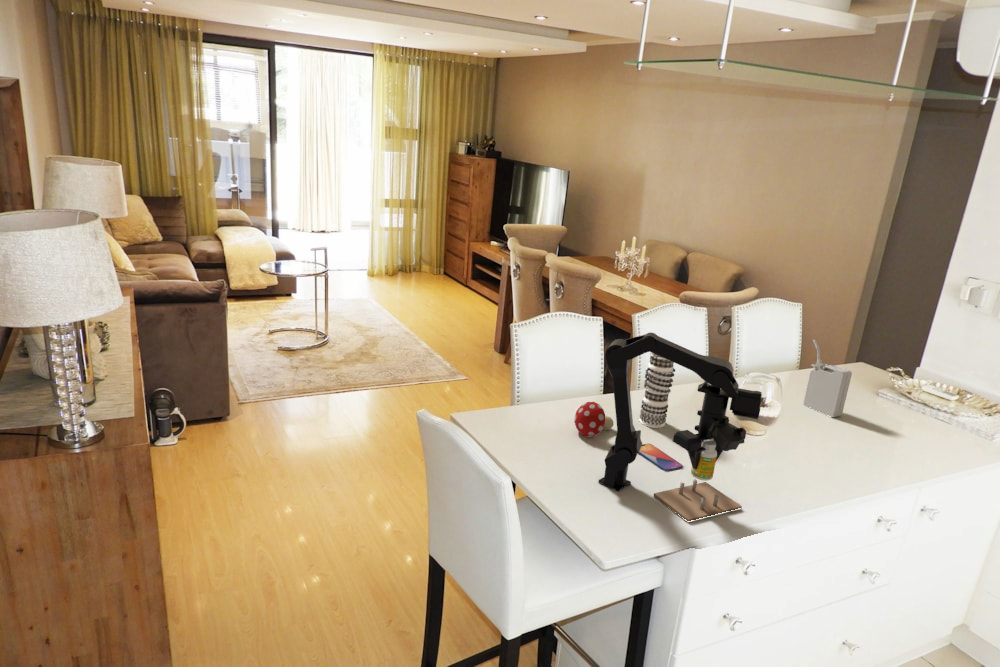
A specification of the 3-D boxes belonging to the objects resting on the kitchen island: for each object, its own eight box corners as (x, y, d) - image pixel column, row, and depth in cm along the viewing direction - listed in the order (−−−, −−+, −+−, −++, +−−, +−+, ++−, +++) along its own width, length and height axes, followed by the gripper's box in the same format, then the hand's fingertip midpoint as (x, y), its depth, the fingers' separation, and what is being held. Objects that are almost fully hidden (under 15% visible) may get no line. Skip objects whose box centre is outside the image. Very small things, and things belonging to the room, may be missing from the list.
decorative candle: (669, 429, 215) (681, 356, 208) (640, 427, 215) (651, 354, 208) (663, 418, 224) (674, 347, 217) (635, 415, 224) (646, 345, 217)
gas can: (796, 402, 249) (810, 338, 242) (805, 400, 251) (820, 337, 244) (832, 418, 236) (848, 351, 229) (841, 416, 238) (857, 350, 231)
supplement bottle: (697, 481, 166) (704, 446, 163) (686, 471, 171) (692, 436, 168) (716, 480, 167) (723, 445, 165) (705, 470, 172) (711, 436, 170)
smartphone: (664, 473, 187) (665, 470, 187) (630, 449, 199) (631, 446, 199) (684, 469, 190) (684, 466, 190) (649, 446, 203) (650, 443, 202)
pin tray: (687, 523, 162) (690, 508, 161) (653, 496, 173) (655, 483, 172) (741, 509, 170) (744, 495, 169) (705, 485, 181) (707, 472, 180)
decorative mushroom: (615, 399, 213) (586, 392, 203) (630, 428, 207) (601, 422, 197) (591, 419, 218) (562, 412, 208) (605, 448, 212) (575, 442, 202)
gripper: (709, 428, 153) (697, 488, 157) (766, 419, 161) (753, 476, 166) (676, 409, 162) (666, 466, 167) (732, 401, 171) (721, 456, 175)
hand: (703, 466), depth 168 cm, fingers closed on supplement bottle, 5 cm apart
